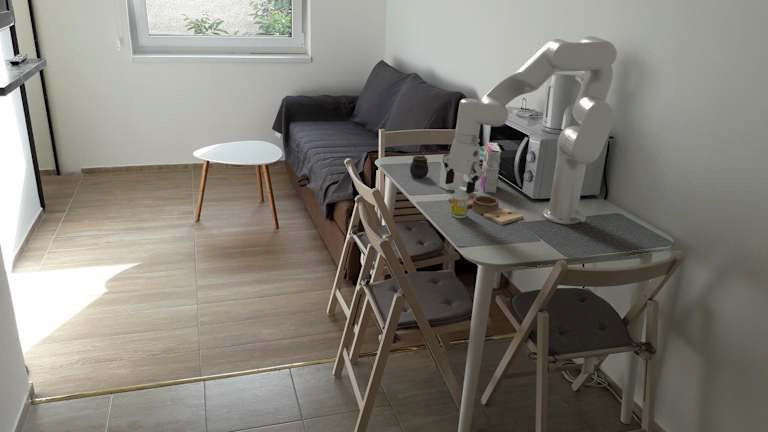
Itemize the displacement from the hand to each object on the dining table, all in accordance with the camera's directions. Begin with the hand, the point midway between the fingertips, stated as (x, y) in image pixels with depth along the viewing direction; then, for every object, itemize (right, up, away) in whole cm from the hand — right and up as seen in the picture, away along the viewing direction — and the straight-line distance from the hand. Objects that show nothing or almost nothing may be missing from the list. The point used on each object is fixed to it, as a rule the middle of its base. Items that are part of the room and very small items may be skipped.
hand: (459, 188), depth 211 cm
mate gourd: (-11, +6, +39) cm, 41 cm away
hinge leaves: (+10, -7, +10) cm, 16 cm away
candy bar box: (+15, +1, +32) cm, 35 cm away
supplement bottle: (0, -9, +4) cm, 10 cm away
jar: (0, +2, +30) cm, 30 cm away
